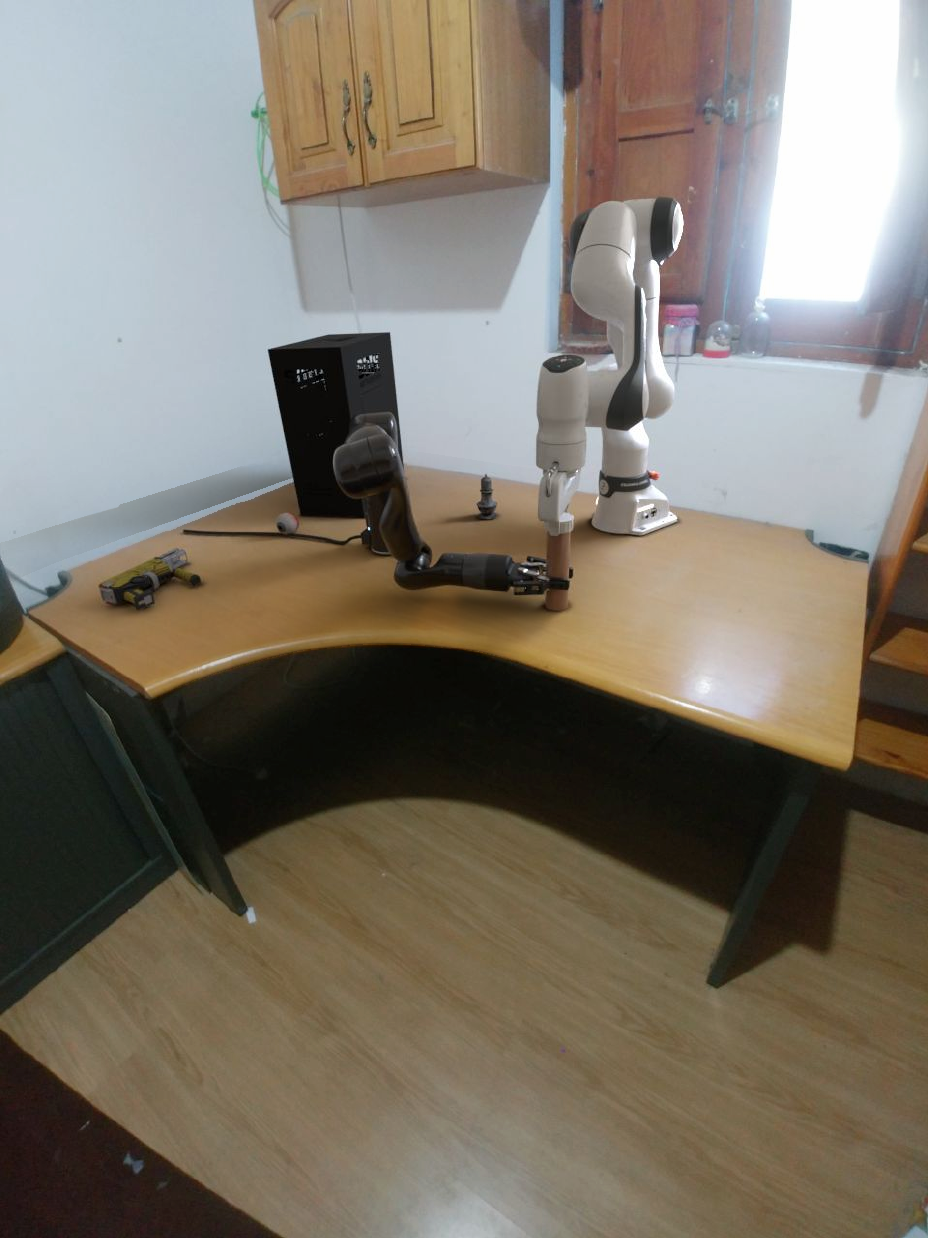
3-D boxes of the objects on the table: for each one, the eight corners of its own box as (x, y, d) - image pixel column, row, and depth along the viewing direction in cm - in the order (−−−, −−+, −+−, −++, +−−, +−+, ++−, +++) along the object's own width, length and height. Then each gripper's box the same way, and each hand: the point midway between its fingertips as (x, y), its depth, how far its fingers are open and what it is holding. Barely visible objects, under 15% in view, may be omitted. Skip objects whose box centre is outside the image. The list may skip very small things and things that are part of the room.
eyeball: (273, 537, 164) (268, 516, 161) (287, 528, 169) (282, 508, 166) (291, 539, 161) (286, 518, 158) (305, 530, 166) (301, 510, 163)
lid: (571, 522, 117) (571, 510, 116) (575, 533, 112) (576, 521, 111) (542, 523, 117) (542, 512, 116) (545, 534, 112) (546, 522, 111)
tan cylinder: (566, 599, 125) (569, 514, 116) (569, 610, 121) (572, 522, 112) (544, 600, 125) (545, 515, 116) (546, 611, 121) (548, 523, 112)
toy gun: (224, 556, 146) (173, 545, 150) (148, 597, 126) (92, 584, 130) (226, 573, 148) (177, 563, 152) (152, 617, 128) (97, 603, 132)
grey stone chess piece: (496, 519, 166) (494, 477, 160) (475, 519, 167) (473, 476, 161) (499, 512, 171) (498, 470, 165) (478, 511, 172) (477, 470, 166)
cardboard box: (364, 517, 173) (340, 346, 151) (300, 515, 178) (267, 349, 155) (404, 478, 205) (390, 332, 182) (349, 476, 209) (328, 334, 187)
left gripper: (477, 570, 116) (566, 577, 111) (495, 541, 128) (576, 547, 123) (479, 604, 120) (565, 612, 115) (496, 573, 132) (575, 579, 127)
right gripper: (566, 472, 98) (564, 550, 105) (588, 441, 115) (584, 510, 122) (529, 471, 100) (528, 547, 107) (555, 440, 117) (553, 508, 124)
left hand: (570, 578), depth 119 cm, fingers closed on tan cylinder, 4 cm apart
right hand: (558, 527), depth 115 cm, fingers closed on lid, 5 cm apart
